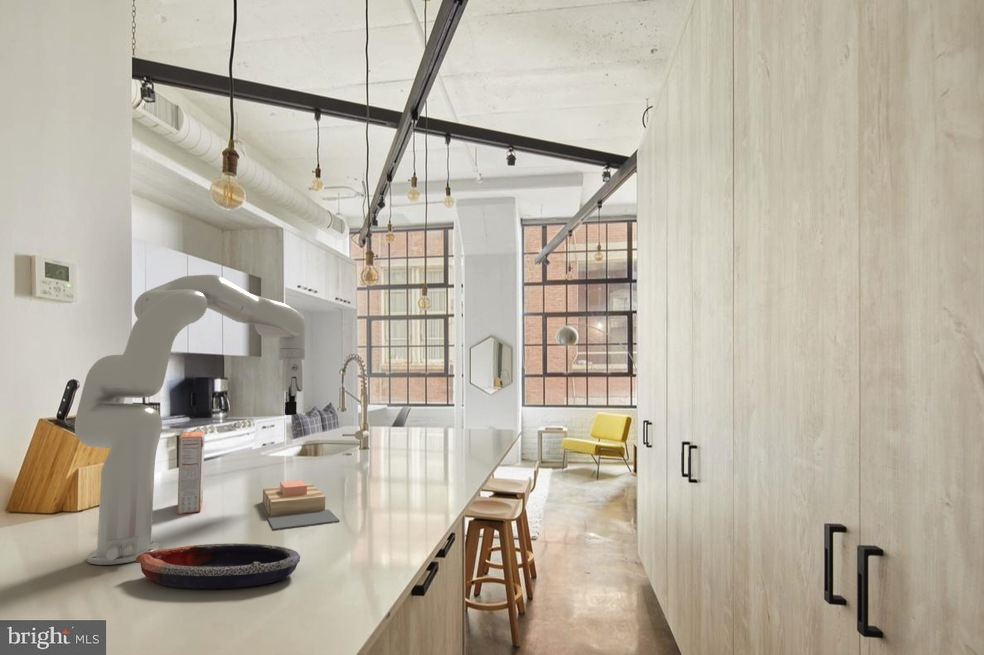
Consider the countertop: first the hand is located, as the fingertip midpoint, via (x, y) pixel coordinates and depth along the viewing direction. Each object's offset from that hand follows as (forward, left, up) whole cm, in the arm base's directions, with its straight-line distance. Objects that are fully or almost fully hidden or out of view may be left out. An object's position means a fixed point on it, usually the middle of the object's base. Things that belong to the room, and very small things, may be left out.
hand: (290, 414), depth 170 cm
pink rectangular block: (-10, 0, -21) cm, 24 cm away
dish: (-61, +21, -26) cm, 70 cm away
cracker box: (+2, +26, -26) cm, 37 cm away
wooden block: (-10, 0, -25) cm, 27 cm away
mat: (-27, 0, -25) cm, 37 cm away
